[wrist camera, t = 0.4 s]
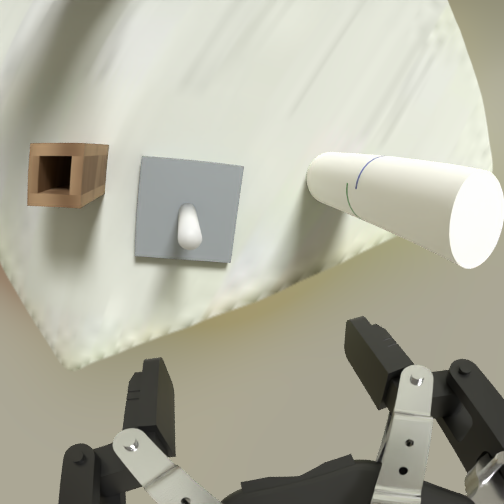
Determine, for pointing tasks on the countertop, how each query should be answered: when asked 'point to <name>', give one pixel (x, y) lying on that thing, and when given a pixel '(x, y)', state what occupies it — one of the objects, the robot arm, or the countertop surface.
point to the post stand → (187, 209)
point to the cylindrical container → (415, 201)
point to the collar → (66, 174)
